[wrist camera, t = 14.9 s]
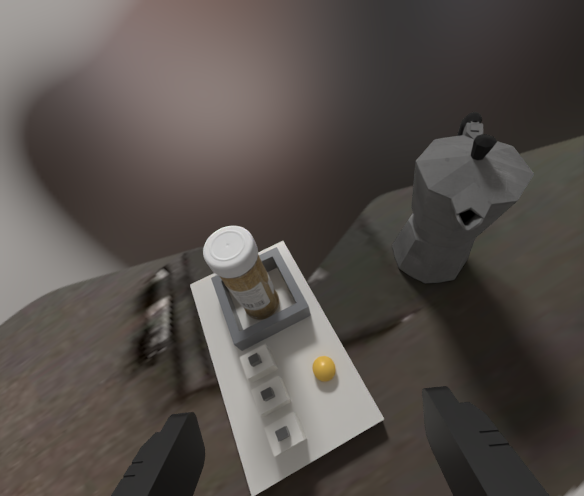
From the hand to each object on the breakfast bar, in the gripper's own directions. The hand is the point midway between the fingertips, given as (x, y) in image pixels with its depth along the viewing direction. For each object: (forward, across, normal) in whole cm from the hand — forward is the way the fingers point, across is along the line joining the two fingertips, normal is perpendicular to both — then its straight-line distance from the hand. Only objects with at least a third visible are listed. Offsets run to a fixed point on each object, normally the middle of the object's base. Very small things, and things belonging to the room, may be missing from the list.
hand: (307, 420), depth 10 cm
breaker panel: (+22, +6, +10) cm, 25 cm away
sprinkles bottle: (+25, +6, +6) cm, 26 cm away
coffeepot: (+30, -16, +3) cm, 34 cm away
